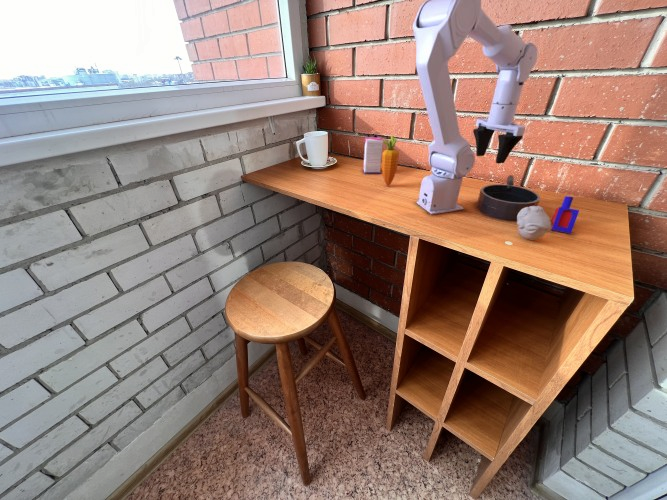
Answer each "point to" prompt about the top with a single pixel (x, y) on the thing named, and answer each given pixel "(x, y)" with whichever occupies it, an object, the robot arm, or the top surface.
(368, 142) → the supplement box
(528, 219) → the frog figurine
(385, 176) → the carrot
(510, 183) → the pot handle
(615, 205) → the top surface
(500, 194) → the pot
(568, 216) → the small bottle
